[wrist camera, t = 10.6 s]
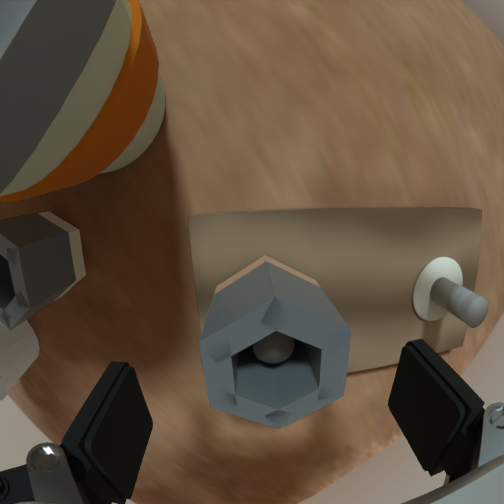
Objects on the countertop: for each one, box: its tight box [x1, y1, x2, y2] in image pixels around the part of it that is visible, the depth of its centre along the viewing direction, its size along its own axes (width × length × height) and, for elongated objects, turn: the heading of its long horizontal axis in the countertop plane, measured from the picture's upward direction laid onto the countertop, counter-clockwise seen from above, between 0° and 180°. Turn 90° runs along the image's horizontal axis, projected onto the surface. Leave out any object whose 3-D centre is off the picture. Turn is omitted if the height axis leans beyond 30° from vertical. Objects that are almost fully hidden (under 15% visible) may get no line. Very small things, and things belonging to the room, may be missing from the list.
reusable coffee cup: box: [0, 0, 166, 203], centre depth 9 cm, size 12×13×15 cm
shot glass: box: [0, 320, 40, 400], centre depth 17 cm, size 7×7×7 cm
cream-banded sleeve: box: [0, 211, 86, 331], centre depth 15 cm, size 7×6×7 cm
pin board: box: [188, 207, 488, 373], centre depth 16 cm, size 12×22×6 cm, turn 93°
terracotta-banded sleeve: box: [199, 255, 351, 429], centre depth 14 cm, size 7×6×7 cm
